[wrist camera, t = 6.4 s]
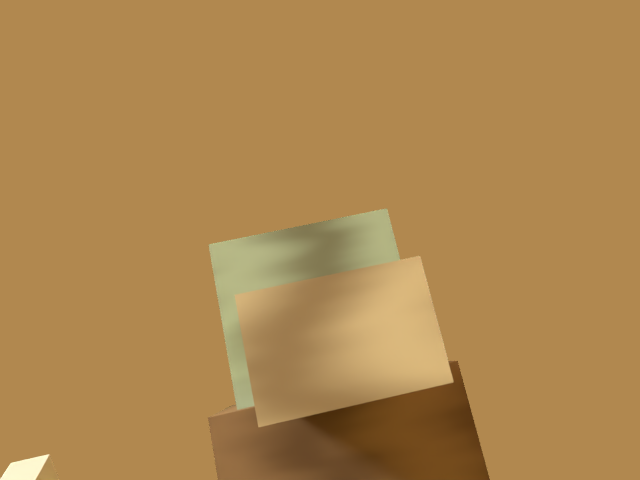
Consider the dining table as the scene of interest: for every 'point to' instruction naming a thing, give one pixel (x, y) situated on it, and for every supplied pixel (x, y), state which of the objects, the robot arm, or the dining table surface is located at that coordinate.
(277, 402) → the beige and green blocks
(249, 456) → the walnut stand
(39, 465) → the robot arm
